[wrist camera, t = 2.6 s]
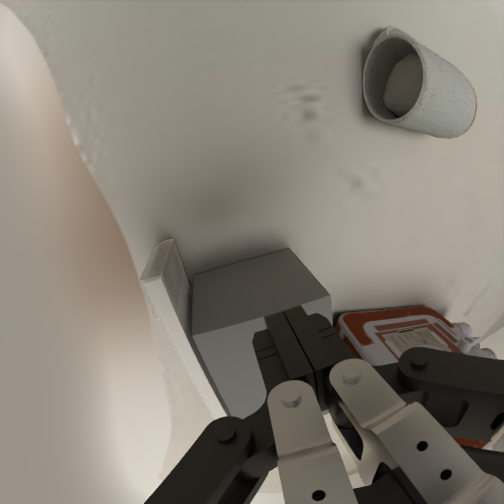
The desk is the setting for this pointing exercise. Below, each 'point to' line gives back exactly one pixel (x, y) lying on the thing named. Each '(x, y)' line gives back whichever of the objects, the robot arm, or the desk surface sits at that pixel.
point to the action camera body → (248, 319)
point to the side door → (179, 318)
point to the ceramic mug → (416, 87)
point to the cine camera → (408, 339)
